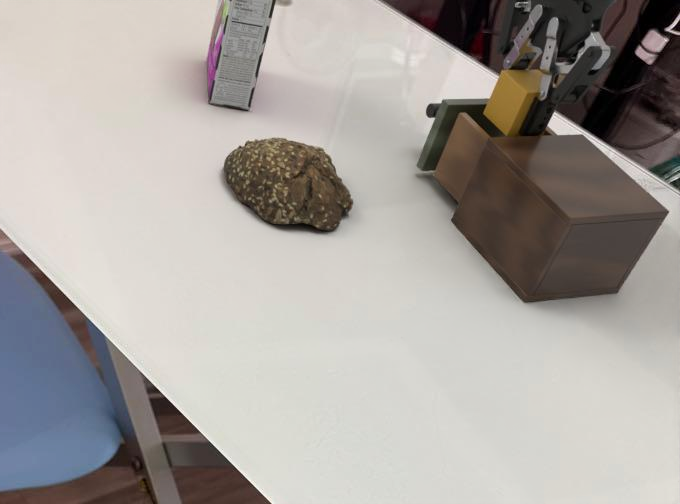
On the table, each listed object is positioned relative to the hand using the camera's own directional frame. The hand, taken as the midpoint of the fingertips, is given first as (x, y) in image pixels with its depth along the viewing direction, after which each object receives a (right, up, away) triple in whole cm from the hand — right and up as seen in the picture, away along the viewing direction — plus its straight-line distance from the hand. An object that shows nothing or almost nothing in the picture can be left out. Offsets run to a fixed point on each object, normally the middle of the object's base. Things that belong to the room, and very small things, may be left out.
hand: (514, 121), depth 96 cm
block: (0, 0, 0) cm, 0 cm away
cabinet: (+2, -13, +1) cm, 13 cm away
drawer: (-2, -4, +6) cm, 8 cm away
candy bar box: (-27, +10, +14) cm, 32 cm away
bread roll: (-22, -7, +1) cm, 23 cm away
